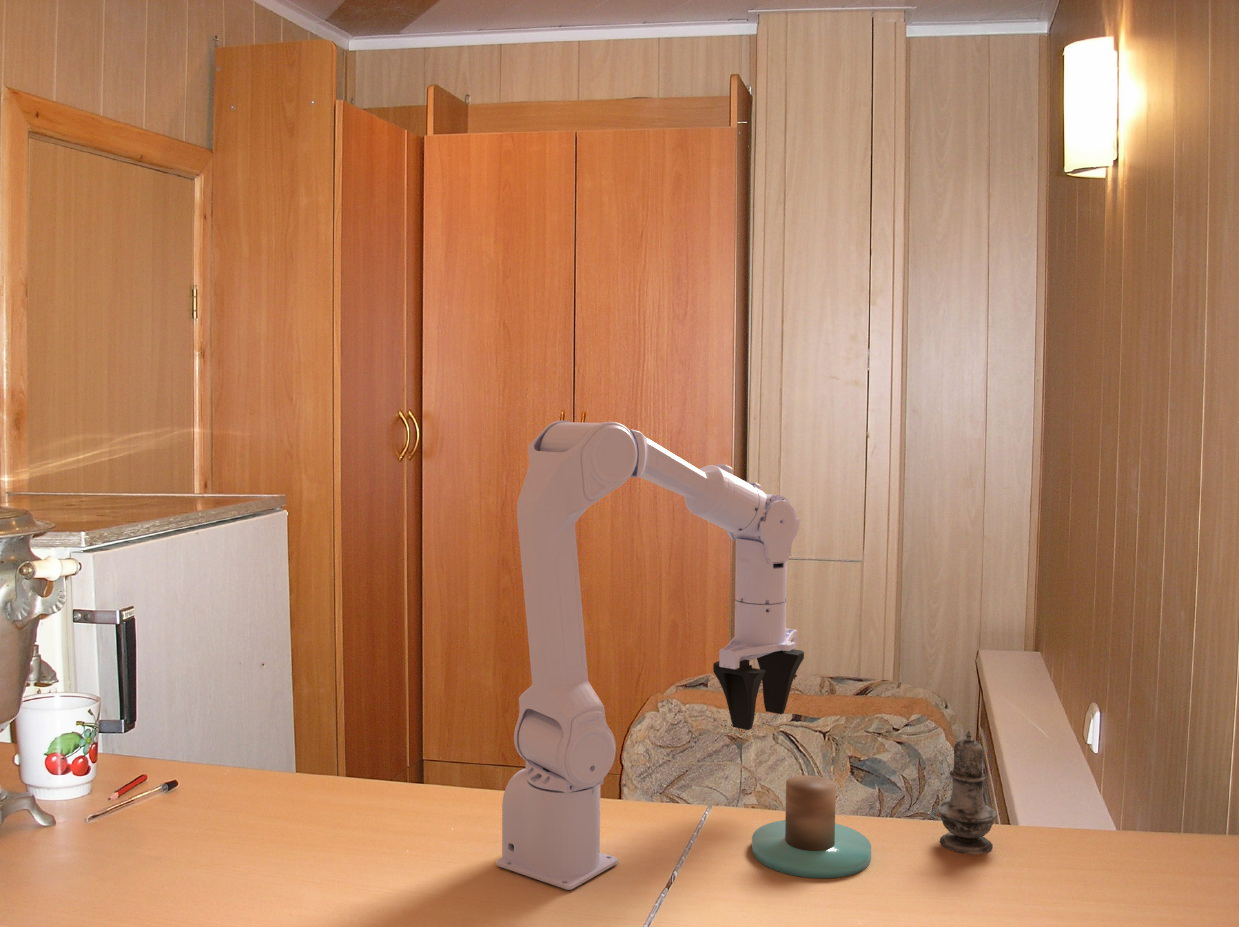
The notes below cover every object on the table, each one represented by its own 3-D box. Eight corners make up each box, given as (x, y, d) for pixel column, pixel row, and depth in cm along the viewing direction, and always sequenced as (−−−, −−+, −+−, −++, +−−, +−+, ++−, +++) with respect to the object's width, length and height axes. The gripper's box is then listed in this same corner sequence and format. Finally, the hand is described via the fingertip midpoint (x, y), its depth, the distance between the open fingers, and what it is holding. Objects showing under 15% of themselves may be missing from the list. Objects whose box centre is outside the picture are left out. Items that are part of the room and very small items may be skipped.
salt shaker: (999, 857, 110) (1002, 741, 109) (939, 852, 111) (942, 737, 110) (991, 835, 115) (994, 724, 115) (934, 830, 117) (937, 721, 116)
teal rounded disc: (730, 857, 109) (730, 845, 109) (785, 821, 119) (785, 810, 119) (840, 889, 102) (840, 876, 102) (889, 848, 112) (889, 836, 112)
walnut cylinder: (776, 842, 110) (777, 784, 110) (799, 827, 114) (800, 771, 114) (820, 855, 107) (821, 795, 107) (843, 839, 111) (844, 782, 111)
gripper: (761, 614, 113) (759, 742, 113) (821, 595, 124) (819, 711, 125) (703, 606, 117) (701, 730, 117) (767, 588, 129) (765, 701, 129)
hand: (758, 719), depth 122 cm, fingers open, 7 cm apart
